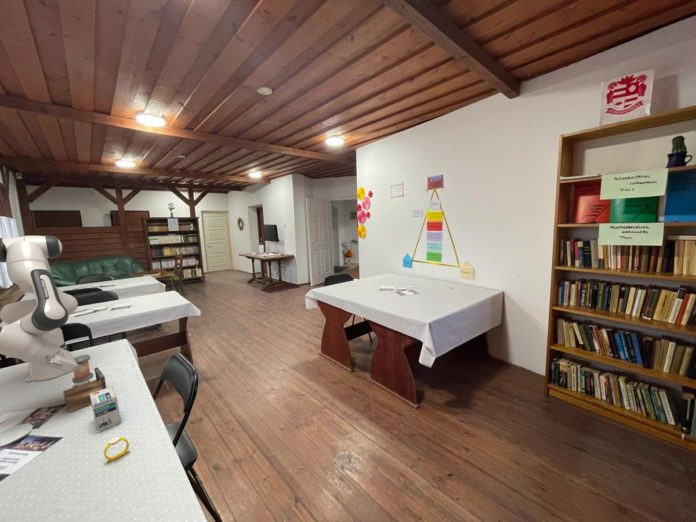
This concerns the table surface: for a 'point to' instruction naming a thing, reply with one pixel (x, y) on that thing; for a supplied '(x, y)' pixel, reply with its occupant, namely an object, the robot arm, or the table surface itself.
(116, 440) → the watch
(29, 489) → the table surface
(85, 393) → the shelf stand
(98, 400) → the light bulb box
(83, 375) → the cord spool
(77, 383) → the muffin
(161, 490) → the table surface
